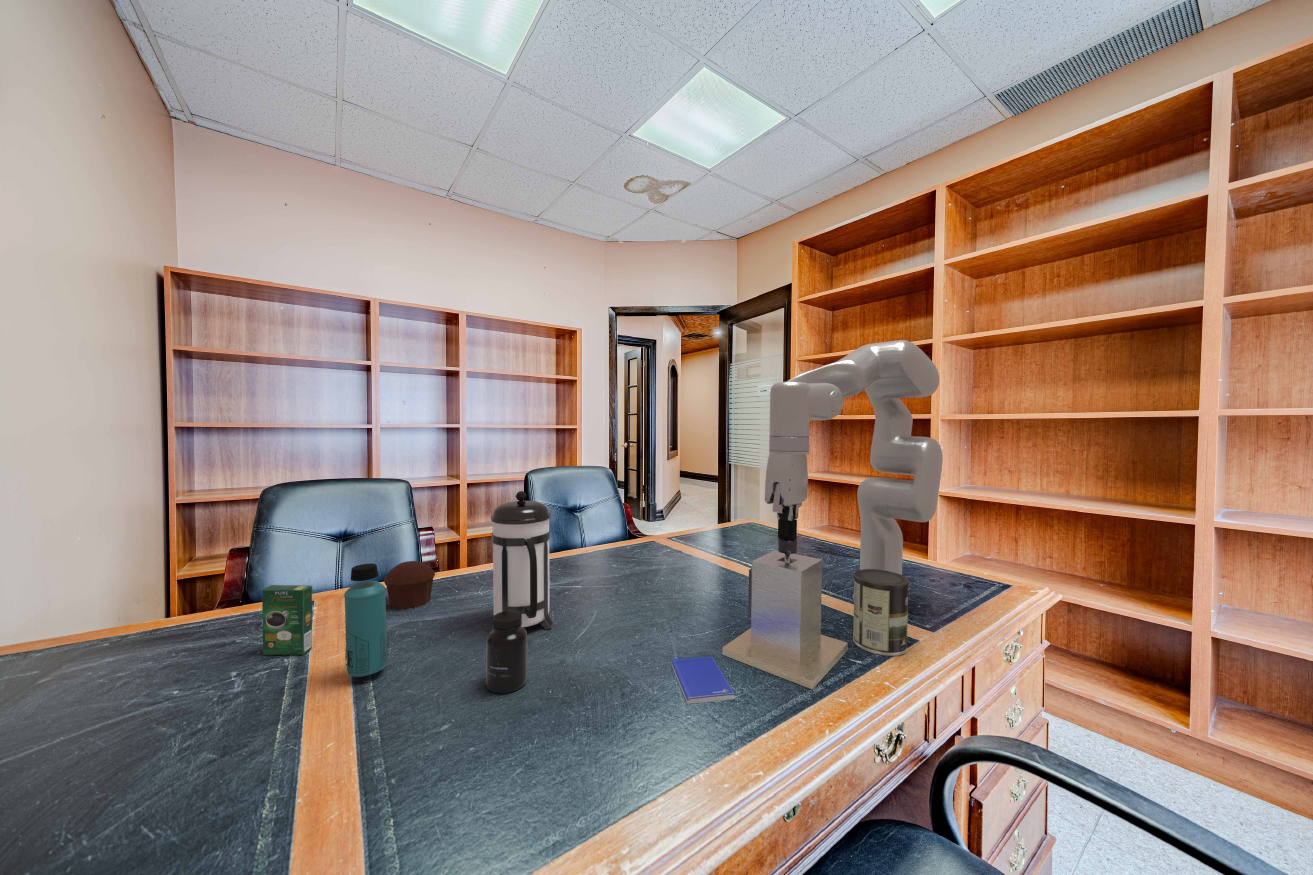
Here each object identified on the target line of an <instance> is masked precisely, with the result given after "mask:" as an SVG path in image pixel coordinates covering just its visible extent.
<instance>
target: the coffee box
mask: <svg viewBox="0 0 1313 875" xmlns="http://www.w3.org/2000/svg"><path fill="white" fill-rule="evenodd" d="M261 592H262V594H261V596H262V597H261V598H262V599H261V602H262V604H261V605H262V606H261V608H262V611H261V612H262V618H261V620H262V655H263V656H275V655H276V656H280V655H281V656H282V655H283V656H285V655H286V656H287V655H289V656H298V655H299V656H300V655H302V656H303V655H305V654H307V653H308V652H310V651H311V650H312V649H313V585H300V584H299V585H293V584H292V585H286V584H271V585H269V586H267V587H264V588H263V589H262V590H261ZM311 648H312V649H311ZM310 649H311V650H310ZM309 650H310V651H309ZM306 652H307V653H306Z"/></svg>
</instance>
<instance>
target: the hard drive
mask: <svg viewBox="0 0 1313 875" xmlns="http://www.w3.org/2000/svg"><path fill="white" fill-rule="evenodd" d="M670 661H671V662H670V663H671V664H670V665H671V668H672V670H673V673H674V675H675V677H676V680H677V682H678V685H679V688H680V690H681V692H682V695H683V697H684V700H685V702H686V704H687V705H693V704H702V703H704V704H705V703H710V702H721V701H729V700H735V699H736V693H735V692H734V689H733V688H732V687H731V685H730V683H729V682H728V680H727V677H725V675H724V673H723V672H722V669H721V667H720V666H719V665H718V663H717V662H716V660H715V658H714V656H698V657H688V658H686V657H685V658H674V659H672V660H670Z"/></svg>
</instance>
